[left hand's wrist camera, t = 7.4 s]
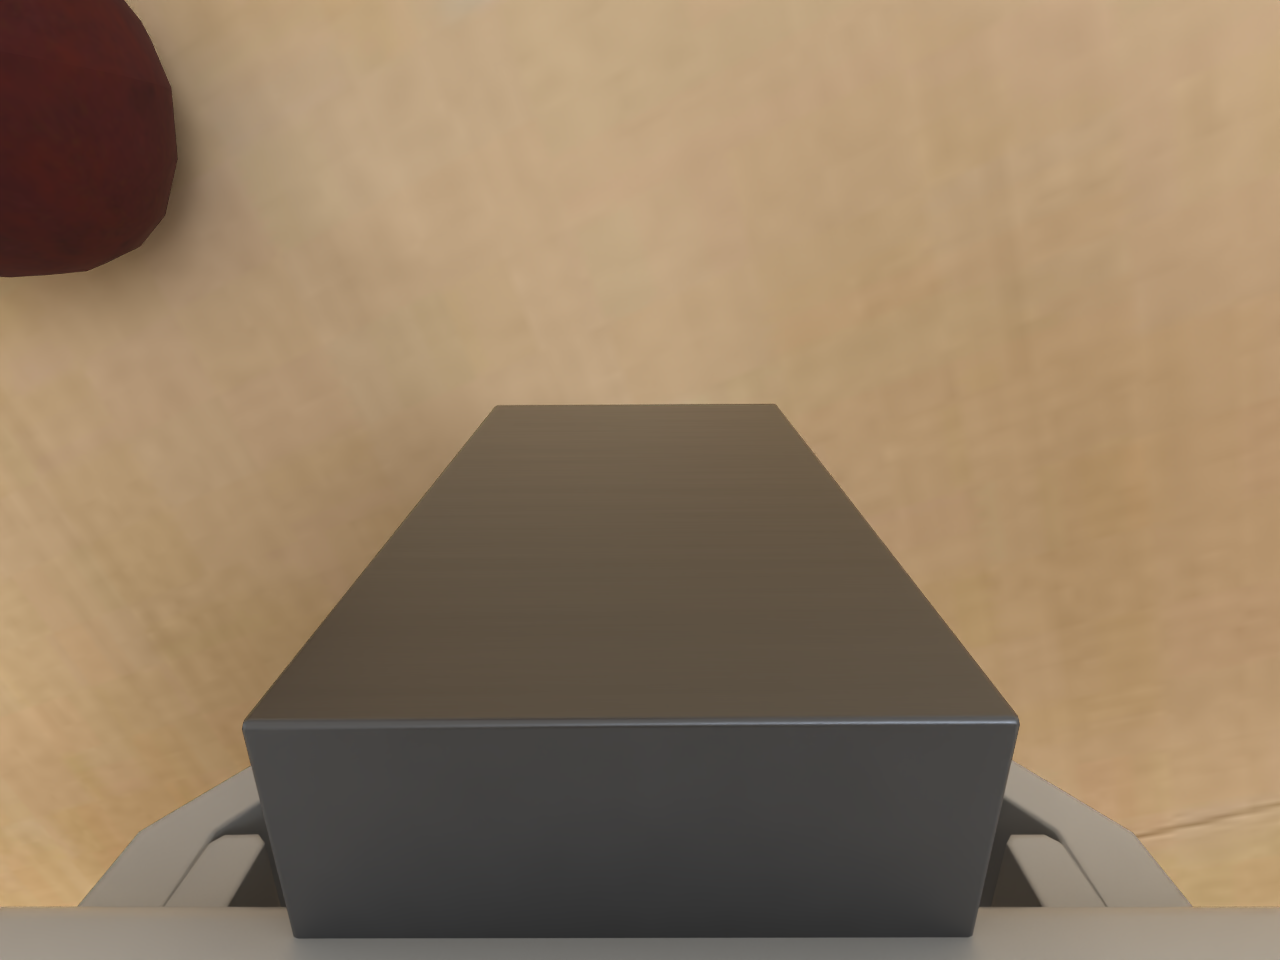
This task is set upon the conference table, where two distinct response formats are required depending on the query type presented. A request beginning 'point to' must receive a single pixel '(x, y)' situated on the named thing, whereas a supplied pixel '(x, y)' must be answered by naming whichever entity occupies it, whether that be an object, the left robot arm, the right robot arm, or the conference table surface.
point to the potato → (79, 135)
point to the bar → (632, 704)
